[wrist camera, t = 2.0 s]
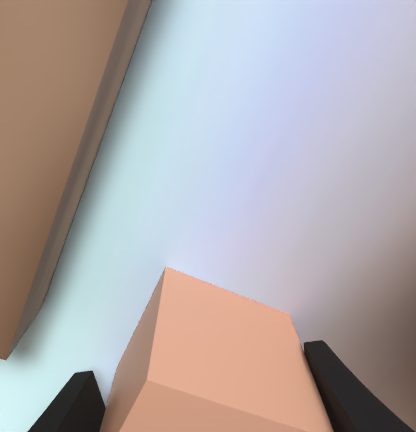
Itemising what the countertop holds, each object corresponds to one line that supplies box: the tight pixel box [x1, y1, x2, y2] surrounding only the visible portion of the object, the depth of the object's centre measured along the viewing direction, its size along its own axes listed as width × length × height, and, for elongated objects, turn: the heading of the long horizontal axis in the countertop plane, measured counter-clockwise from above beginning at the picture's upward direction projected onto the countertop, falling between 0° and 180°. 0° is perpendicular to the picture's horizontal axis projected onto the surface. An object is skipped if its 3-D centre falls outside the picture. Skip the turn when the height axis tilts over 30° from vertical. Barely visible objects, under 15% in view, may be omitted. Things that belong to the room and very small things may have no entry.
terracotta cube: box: [99, 267, 334, 432], centre depth 11 cm, size 5×5×5 cm
